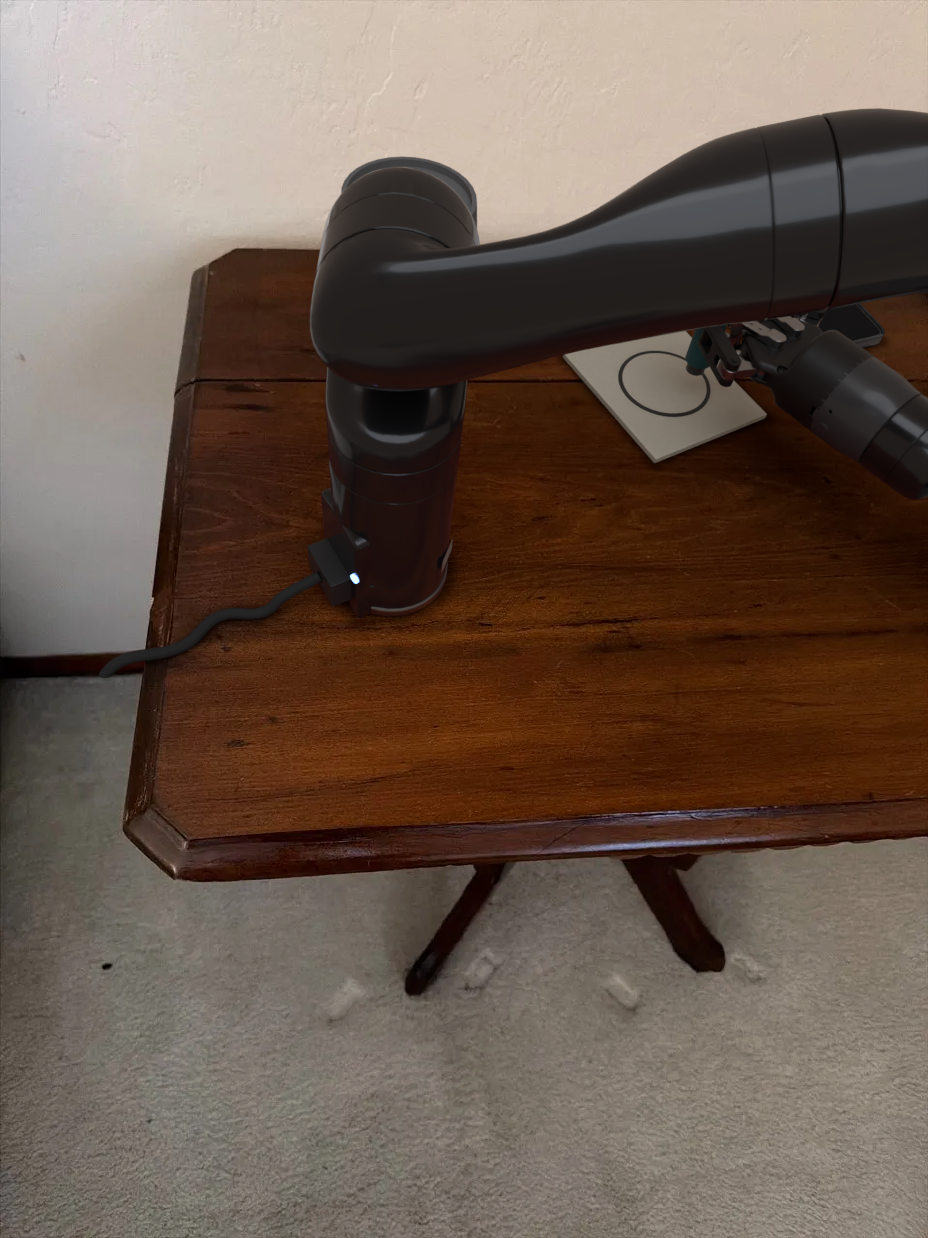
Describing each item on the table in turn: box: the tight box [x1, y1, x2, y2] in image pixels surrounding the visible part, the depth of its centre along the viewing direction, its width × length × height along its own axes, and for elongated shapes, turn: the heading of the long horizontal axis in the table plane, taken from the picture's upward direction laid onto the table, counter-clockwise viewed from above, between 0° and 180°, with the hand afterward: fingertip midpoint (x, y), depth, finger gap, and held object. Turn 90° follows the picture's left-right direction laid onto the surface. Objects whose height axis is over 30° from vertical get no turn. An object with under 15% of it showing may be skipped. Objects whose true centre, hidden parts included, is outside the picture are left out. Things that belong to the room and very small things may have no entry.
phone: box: [742, 303, 886, 349], centre depth 95 cm, size 8×1×15 cm
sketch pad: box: [562, 331, 768, 464], centre depth 89 cm, size 14×16×1 cm
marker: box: [685, 325, 728, 376], centre depth 80 cm, size 3×3×13 cm
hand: (695, 287), depth 80 cm, fingers closed on marker, 2 cm apart
